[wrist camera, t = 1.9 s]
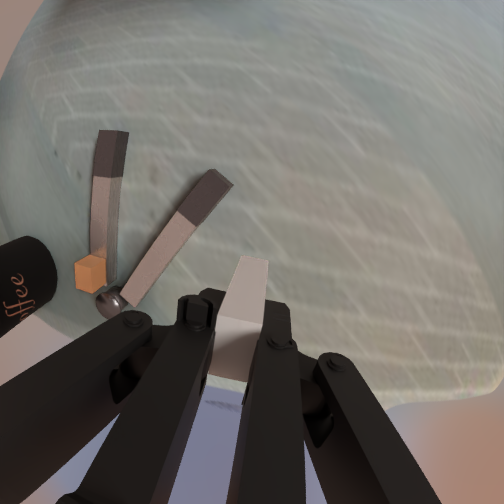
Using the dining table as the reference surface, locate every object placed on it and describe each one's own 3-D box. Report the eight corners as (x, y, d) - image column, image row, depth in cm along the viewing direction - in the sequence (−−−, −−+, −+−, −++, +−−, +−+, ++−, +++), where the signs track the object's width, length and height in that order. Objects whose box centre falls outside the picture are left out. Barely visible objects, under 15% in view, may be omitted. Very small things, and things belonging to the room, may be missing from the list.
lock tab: (106, 283, 29) (92, 293, 26) (90, 278, 29) (76, 288, 26) (105, 259, 28) (90, 268, 25) (89, 254, 28) (74, 263, 25)
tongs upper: (143, 298, 32) (134, 308, 29) (128, 285, 31) (118, 294, 29) (233, 185, 27) (229, 186, 25) (215, 169, 27) (209, 169, 24)
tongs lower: (131, 312, 33) (120, 323, 30) (102, 303, 33) (91, 312, 30) (145, 133, 26) (132, 131, 23) (111, 131, 26) (97, 129, 23)
